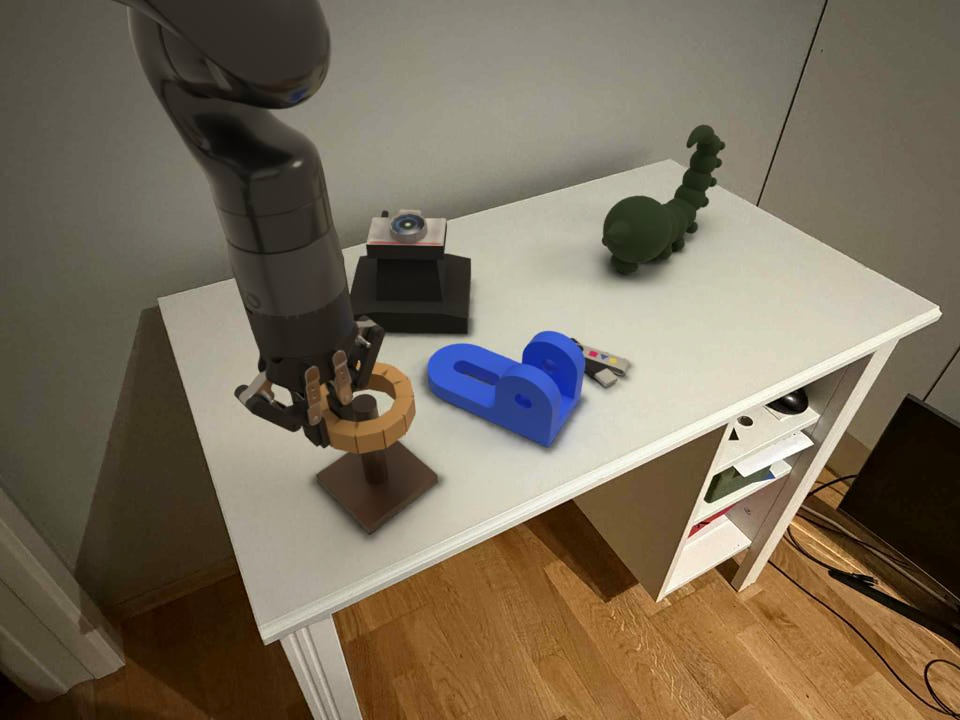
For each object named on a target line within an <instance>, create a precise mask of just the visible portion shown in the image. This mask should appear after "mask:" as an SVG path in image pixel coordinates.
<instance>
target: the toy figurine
mask: <svg viewBox="0 0 960 720" xmlns="http://www.w3.org/2000/svg"><path fill="white" fill-rule="evenodd" d="M685 144H686V149H691V148H692V147H693V146H694V145H695V149H696V150H695V151H694V152H693V153H692V155H690V158H689V167H688V168H687V170H685V172H684V173H683V175H682V179H681V183H682V184H680V185H679V186H678V187H677V188H676V189H675V192H674V194H673V198H671V199H670V200H668V201H667V202H666V203H661V202H660V201H658V200H656V199H655V198H653V197H650V196H647V195H633V196H628V197H625V198H623V199H621V200H619V201H618V202H616V203H615V204H614V205H613V206H612V207H611V208H610V210H608V213H606V216H605V218H604V221H603V225H602V238H601V244H602V245H603V246H605V247H606V248H607V249H608V250H609V252H610V253H611V254H612V255H611V257H610V264H611V266H612V267H613V268H614V269H615V270H616V271H618V272H620V273H622V274H625V275H631V274H634V273H635V272H637V271H638V269H639V265H640V264H644V263H646V262H649V261H652V260H653V259H655V258H656V259H659V260H661V261H666V260H668V259H669V258H670V257H671V256H672V254H673V250H674V251H677V252H678V251H682V250H683V249H684V248H685V245H686V240H685V239H684V238H683V237H684V236H685V235H686V234H690V235H693V234H695V233H697V231H698V228H699V224H698V223H697V222H696V221H695V220H696V218H697V212H698V211H699V210H700V209H701V208H702V209H704V208H706V207H708V205H709V204H710V199H709V197H708V196H707V194H706V191H707V190H709V188H714V187H716V185H717V184H718V179H717V178H716V177H713V175H712V173H713V172H714V171H715V169H719V168H720V167H721V166H722V165H723V160H722V159H721V158H720V157H718V155H719V153H720V151H723V150H724V149H726V143H725V141H722V140H721V138H720V137H719V136H718V135H717V134H716V133H715V130H714V128H713V127H712V126H710V125H708V124H700V125H697V126H695V127H694V128H693V130H691V132H690V134H689V136H688V138H687V141H686V143H685Z"/></svg>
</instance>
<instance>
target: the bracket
mask: <svg viewBox="0 0 960 720" xmlns="http://www.w3.org/2000/svg"><path fill="white" fill-rule="evenodd" d="M570 338H571V337H569V336H567V335H565V334H563V333H561V332H558V331H554V330H543V331H540V332H538V333H537V334H535V335H534V336H533V337H532V339H531V340H530V341H529V342H528V343H527V344H526V346H525V347H524V349H523V351H522V354H521V362H518V361H516V360H513V359H511V358H509V357H507V356H505V355H501V354H500V353H499V354H498V353H497V352H494V351H492V350H489V349H487V348H485V347H482V346H480V345H477V344H473V343H467V342H462V343H461V342H459V343H453V344H449V345H445V346H443V347H441V348H439V349H437V350H436V351H435V352H434V353H433V354H432V355H431V356H430V358H429V360H428V362H427V380H428V381H427V383H428V386H429V389H430V390H431V391H432V393H433V394H434V395H435V396H436V397H437V398H439V399H441V400H442V401H445V402H447V403H450V404H452V405H454V406H456V407H458V408H460V409H463V410H464V411H467V412H469V413H471V414H474V415H476V416H478V417H480V418H483V419H485V420H487V421H488V422H491V423H494V424H496V425H497V426H500V427H502V428H505V429H506V430H508V431H511V432H514V433H516V434H518V435H520V436H522V437H524V438H527V439H529V440H531V441H533V442H535V443H538V444H540V445H542V446H544V447H546V448H549V447H550V446H551V444H552V443H553V441H554V440H555V438H556V437H557V435H558V434H559V432H560V431H561V429H562V428H563V426H564V425H565V424H566V422H567V420H568V419H569V417H570V415H571V414H572V413H573V411H574V410H575V408H576V407H577V405H578V404H579V402H580V400H581V396H582V395H581V394H582V390H583V383H584V378H585V377H584V376H585V372H586V371H585V358H584V355H583V353H582V351H581V349H580V348H579V346H578V345H577V344H576V343H575V342H574V341H573V340H571V339H570ZM466 374H467V375H466ZM469 375H470V376H469ZM473 377H474V378H473ZM475 378H476V379H475ZM480 380H481V381H480ZM484 382H485V383H484Z"/></svg>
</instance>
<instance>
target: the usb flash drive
mask: <svg viewBox="0 0 960 720" xmlns="http://www.w3.org/2000/svg"><path fill="white" fill-rule="evenodd" d="M569 338H570V339H571V340H573V341H574V342H575V343H576V344H577V345H578V346H579V348H580V349H581V351H582V353H583V355H584V358H585V371H584V372H586V373H587V374H588V375H589V376H590V377H591V378H593V379H596V380H597V381H598V382H599V383H600V384H601V385H603V387H605V388H607V387H608V386H610V385H612V384H615V383H616V382H618V379H619V378H618V376H617V375H619V376H624V375H625V373H626V371H627V369H628V367H629V366H630V360H628V359H626V358H623V357H620V356H617V355H614V354H611V353H609V352H605V351H602V350H600V349H597V348H594V347H591V346H587V345H584V344H581V343H580V342H579V341H578V340H577V339H575V338H574V337H569Z"/></svg>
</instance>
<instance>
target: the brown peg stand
mask: <svg viewBox="0 0 960 720" xmlns="http://www.w3.org/2000/svg"><path fill="white" fill-rule="evenodd" d="M351 402H352V406H353V411H354V416H355V419H354V422H356V423H358V422H363V421H368V420H373V419H377V418H378V417H379V416H380V415H379V408H378V402H377V399H376V397H375V396H374V395H372V394H369V393H361V394H358V395H356V396H355V397H353V399H352V401H351ZM315 477H316V481H317V482H318V484H320V486H322V488H324V490H325V491H327V493H328V494H329V495H330V496H332V498H333V499H334V500H335V501H336V502H337V503H338V504H339V505H340V506H341V507H342V508H343V509H344V510H345V511H346V512H347V513H348V514H349V515H350V516H351V517H352V518H353V519H354V520H355V521H356V522H357V523H358V524H359V525H360V526H361V527H362V528H363V529H364V530H365V531H366V533H368V534H369V535H372V534H374V533H375V532H376V531H377V530H378V529H380V528H381V527H382V526H384V525H385V524H386V523H388V521H391V519H393V518H394V517H395V516H396V515H397V514H399V513H400V512H402V510H404V509H405V508H406V507H407V506H409V505H410V504H411V503H413V502H414V501H415V500H417V499H418V498H419V497H420V496H422V495H423V494H425V492H427V491H428V490H429V489H430V488H432V487H433V486H434V485H435V484H437V483H438V482H439V477H438V474H437V473H436V472H435V471H434V470H433V469H432V468H431V467H429V466H428V465H427V464H426V463H425V462H423V460H421V459H420V458H419V457H418V456H417V455H415V454H414V453H413V452H412V451H410V450H409V449H408V448H407V447H406V446H405V445H404V444H403V443H402V442H400V441H399V439H398V440H397V441H396V442H394V443H393V444H391V445H390V446H389V447H387V448H386V447H385V449H381V450H376V451H371V452H366V453H362V454H359V452H358V454H356V453H351V452H346V453H345V454H343V455H342V456H341V457H339V458H338V459H336V460H335V461H333V462H332V463H330V464H329V465H328V466H326V467H325V468H323V469H322V470H320V471H319V472H317V473H316V474H315Z"/></svg>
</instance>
